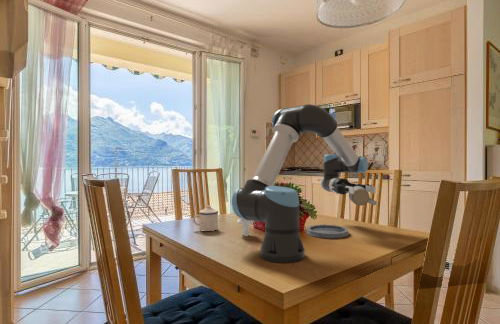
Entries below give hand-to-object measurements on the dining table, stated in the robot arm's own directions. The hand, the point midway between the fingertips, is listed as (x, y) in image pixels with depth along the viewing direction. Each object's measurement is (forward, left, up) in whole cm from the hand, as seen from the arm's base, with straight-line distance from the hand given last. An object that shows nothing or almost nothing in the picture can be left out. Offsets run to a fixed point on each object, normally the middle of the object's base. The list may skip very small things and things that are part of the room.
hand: (364, 190), depth 123 cm
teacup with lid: (-64, +31, -20) cm, 74 cm away
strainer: (-47, +17, -20) cm, 54 cm away
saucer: (-11, +12, -20) cm, 26 cm away
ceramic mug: (+1, +3, -7) cm, 8 cm away
